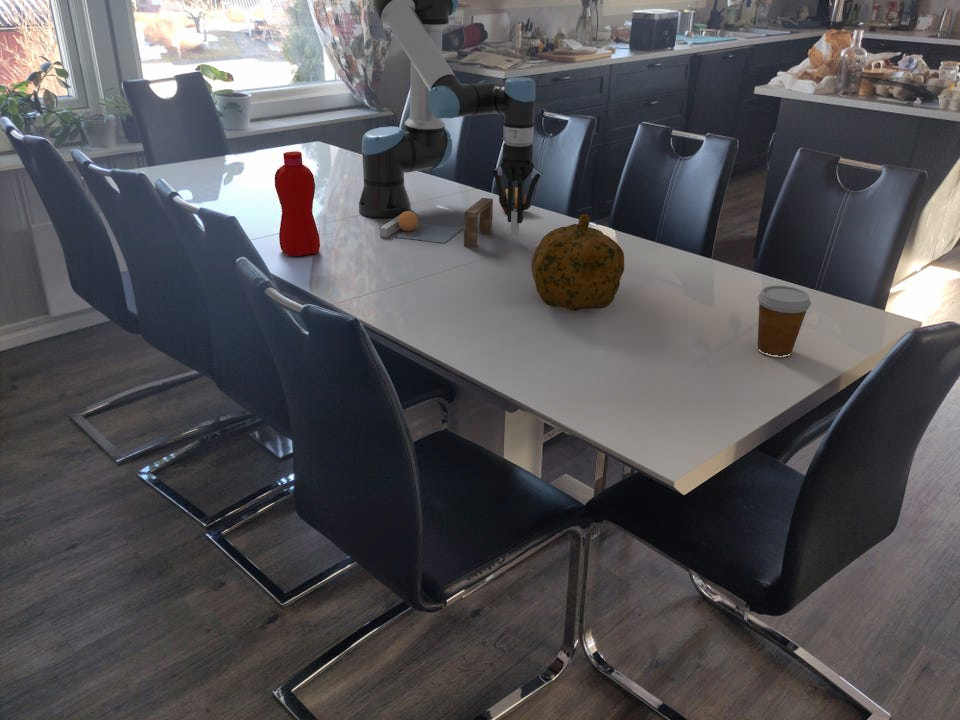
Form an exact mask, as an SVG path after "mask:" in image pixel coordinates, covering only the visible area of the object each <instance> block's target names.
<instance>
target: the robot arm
mask: <svg viewBox="0 0 960 720" xmlns="http://www.w3.org/2000/svg"><path fill="white" fill-rule="evenodd" d="M373 3H374V9H375V12H376V14H377V16H378V18H379V20H380V22H381V23H382V24H383V26H384V27H386V28H388V29H390V31H392V33H393V35H394V36H395V38H396V40H397V41H398V43H399V44H400V46H401V48H402V49H403V51H404V52H405V54H406V56H407V57H408V59H409V61H410V80H409V81H410V82H409V83H410V87H409V91H410V93H409V117H408V118H407V119H406V120H405V121H404V131H403V129H402V128H401V127H399V126H383V127H382V126H381V127H377V128H373V129H370V130H368V131H366V132H365V133H364V134H363V136H362V140H361V152H362V153H361V154H362V171H363V173H362V174H363V187H362V190H361V195H360V198H359V201H358V212H359V214H361V215H363V216H365V217H369V218H376V219H377V218H379V219H382V218H383V219H384V218H385V219H389V218H390V219H391V218H396V217H397V216H399V215H400V214H402V213H403V212H405V211H411V212H412V207H411V205H412V204H411V200H410V198H409V195H408V192H407V189H406V187H405V174H406V173H407V174H408V173H415V172H419V171H420V172H421V171H430V170H431V171H432V170H435V169H438V168H442V167H443V166H445V165H446V164H447V163H448V162H449V160H450V159H451V155H452V151H453V139H452V138H451V136H452V135H451V134H450V131H449V130H448V129H447V128H445V122H443V120H442V119H454V118H462V117H469V116H479V115H480V116H481V115H482V116H483V115H489V114H490V115H491V114H492V115H493V114H495V115H500V116H503V131H502V133H503V136H502V137H503V139H502V141H503V142H504V143H503V145H502V161H501V163H500V166H498V167H496V168H494V169H493V170H492V171H491V173H492V174H491V175H493V177H494V179H495V183H496V189H497V195H498V200H499V199H500V203H499V205H500V204H501V205H500V207H501V208H502V207H504V208H506V209H507V210H508V213H507V222H508V223H510V236H511V237H512V236H513V237H517V236H518V235H519V234H520V224H522V223H523V221H524V211H527V210H529V209H530V208H531V206H532V203H533V200H534V196H535V193H536V189H537V187H538V183H539V180H540V179H541V178H542V176H543V172H542V171H538V170H537V169H536V168H535V165H534V162H533V156H534V155H533V154H534V153H533V151H534V146H533V144H532V143H533V142H534V134H535V132H534V131H535V130H534V128H535V111H536V98H537V96H536V82H535V80H534V79H533V78H529V77H522V76H517V77H515V76H513V77H508V78H506V79H505V81H504V83H503V82H499V81H495V80H485V79H484V80H480V81H479V82H478V83H469V84H468V83H467V84H466V83H465V84H464V83H463V84H462V83H461V82H460V80H459V79H458V77H457V76H456V74H455V72H454V71H453V69H452V68H451V67H450V65H449V64H448V62H447V60H446V58H445V57H444V55H443V30H444V29H445V28H446V27H447V26H448V25H449V19H450V18H449V17H450V16H452V15H453V14H455V12H456V11H457V8H458V5H459V0H373ZM503 175H505V177H506V179H507V189H508V201H507V196H506V191H505V190H506V185H505V181H504V177H503ZM530 175H531V177H530V178H531V182H530V184H529V188H528V192H527V194H526V193H525V190H526V182H527V181H526V180H527V178H528V177H529V176H530ZM516 181H517V188H518V196H517V209H514V207H515V206H514V205H515V188H516ZM525 195H526V201H525V204H524V196H525Z"/></svg>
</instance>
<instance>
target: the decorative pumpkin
mask: <svg viewBox="0 0 960 720" xmlns="http://www.w3.org/2000/svg"><path fill="white" fill-rule="evenodd" d="M590 221H591V216H590V215H588V214H581V215H580V216H579V219H578V223H573V224H570V225H567V226H560V227H558V228H554V229H553V230H551V231H549V232H548V233H547V234H545V235H544V236H543V237H542V238H541V240H540V242H539V243H538V245H537V247H536V248H535V250H534V252H533V255H532V257H531V265H530V267H531V274H532V278H533V282H534V286H535V288H536V292H537V294H538V295H539V297H540V298H541V300H542V301H543V302H544V304H546V306H550V307H553V308H563V309H568V310H570V311H572V312H578V311H583V310H584V311H585V310H593V309H594V310H595V309H603V308H606V307H608V306H610V304H611V303H612V302H613V301H614V299H615V296H616V294H617V293H618V292H619V289H620V282H621V278H622V276H623V273H624V272H625V254H624V250H623V249H622V247H621V246H620V245H619V244H618V243H617V242H616V241H615V240H614V239H612V238H611V237H610V236H608V235H607V234H604V233H603V232H602V231H601V230H599V229H597V228H595V227H594V228H593V227H589V225H590Z"/></svg>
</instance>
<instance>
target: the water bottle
mask: <svg viewBox="0 0 960 720" xmlns="http://www.w3.org/2000/svg"><path fill="white" fill-rule="evenodd" d="M282 155H283V163H284V164H283V165H281V166H279V168H278V169H277V170H276V171H275V174H274V188H275V191H276V195H277V198H278V201H279V205H280V208H281V217H280V218H281V219H280V226H279V232H278V239H279V247H280V250H281V251H282V252H283V254H284V255H286V256H287V255H288V257H291V256H298V257H303V256H302V255H305V256H311V255H310V254H314V255H315V253H316V254H317V253H319V252H320V248H321V242H320V241H321V240H320V234H319V231H318V228H317V227H318V226H317V223H316V220H315V217H314V213H313V206H314V199H315V193H316V182H315V177H314V173H313V172H312V171H311V169H310V168H309V167H308V166H307V165H305V164H303V153H302V152H301V151H299V150H298V151H297V150H294V151H285V152H283V154H282Z"/></svg>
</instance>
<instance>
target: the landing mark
mask: <svg viewBox="0 0 960 720" xmlns="http://www.w3.org/2000/svg"><path fill="white" fill-rule="evenodd" d="M462 230H464V227H456V226H450V225H449V226H447V225H439V224H429V223H422V222H418V226H417V227H416V229H415V230H413V231H410V232H407V231H404V230H402V232H400V233H399V234H398V235H396V236H395V237H397V238H398V239H406V240H411V241H422V242H430V243H437V244H446V243H447V242H448V241H449V240H451V239H453V237H454V236H456V235H457V234H459V233H460V231H462Z"/></svg>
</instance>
